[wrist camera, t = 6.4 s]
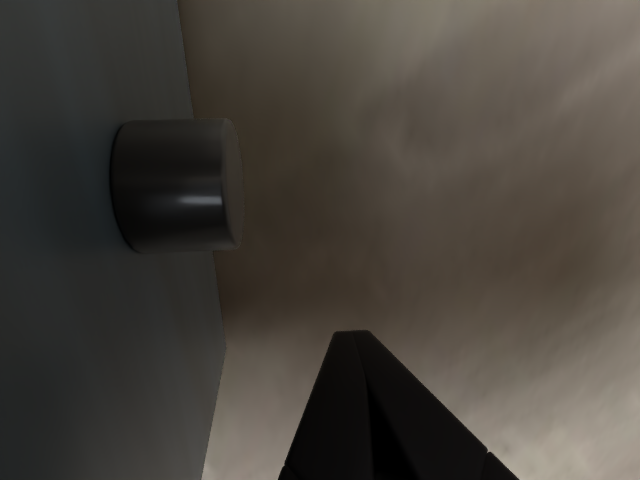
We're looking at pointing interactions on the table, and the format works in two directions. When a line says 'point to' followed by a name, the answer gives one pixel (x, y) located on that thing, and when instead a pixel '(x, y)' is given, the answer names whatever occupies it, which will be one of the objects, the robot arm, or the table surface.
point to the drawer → (108, 244)
